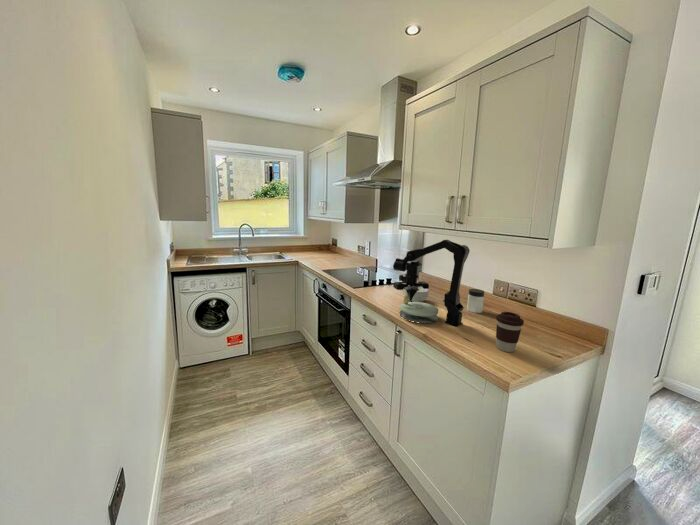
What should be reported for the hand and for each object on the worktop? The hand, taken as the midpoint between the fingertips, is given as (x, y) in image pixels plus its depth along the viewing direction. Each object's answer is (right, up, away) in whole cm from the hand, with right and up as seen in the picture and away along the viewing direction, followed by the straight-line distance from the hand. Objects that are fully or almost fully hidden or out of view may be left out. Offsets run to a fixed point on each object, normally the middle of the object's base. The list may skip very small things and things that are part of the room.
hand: (410, 300), depth 161 cm
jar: (+39, -7, +8) cm, 40 cm away
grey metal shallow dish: (+3, -8, -6) cm, 10 cm away
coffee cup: (+32, -15, -39) cm, 52 cm away
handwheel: (+3, -4, -7) cm, 9 cm away
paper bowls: (+8, -3, +23) cm, 24 cm away
